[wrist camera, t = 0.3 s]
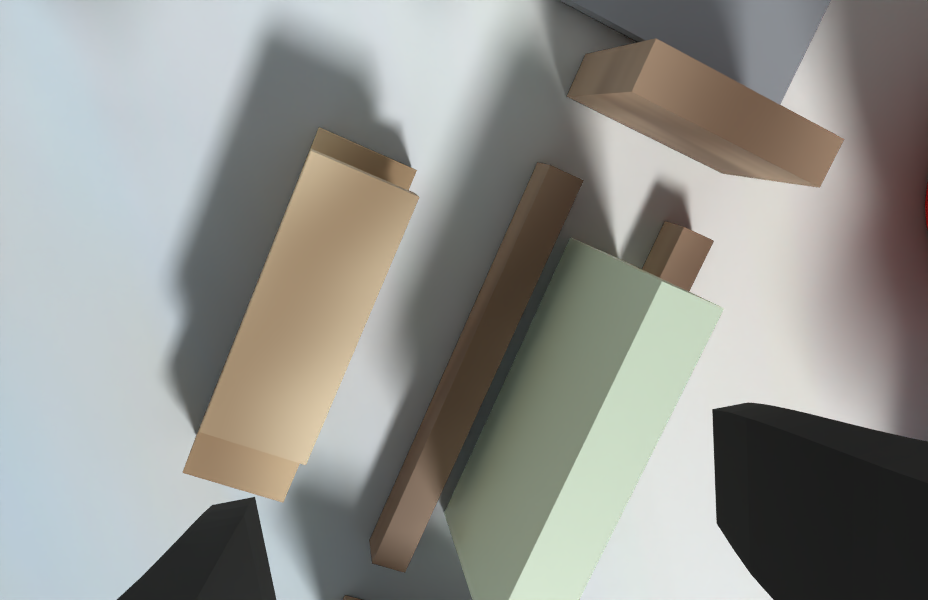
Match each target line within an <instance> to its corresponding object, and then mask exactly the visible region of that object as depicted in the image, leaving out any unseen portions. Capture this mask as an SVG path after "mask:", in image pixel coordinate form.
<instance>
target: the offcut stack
mask: <svg viewBox="0 0 928 600" xmlns="http://www.w3.org/2000/svg"><path fill="white" fill-rule="evenodd" d="M416 171H417V170H415V169H413V168H411V167H409V166H407V165H404V164H402V163H400V162H398V161H395V160H393V159H391V158H388V157H386V156H384V155H382V154H379V153H377V152H375V151H372V150H370V149H368V148H366V147H363V146H361V145H359V144H356V143H354V142H352V141H350V140H347V139H345V138H343V137H340V136H338V135H336V134H334V133H331V132H329V131H327V130H324V129H322V128H320V127H319V128H318V131H317V133H316V136H315V138H314V141H313V143H312V146H311V148H310V151H309V153H308V156H307V158H306V161H305V163H304V166H303V168H302V171H301V173H300V176H299V179H298V181H297V184H296V186H295V189H294V191H293V194H292V196H291V199H290V201H289V204H288V206H287V209H286V211H285V214H284V216H283V219H282V221H281V224H280V226H279V229H278V231H277V234H276V236H275V239H274V241H273V244H272V246H271V249H270V251H269V254H268V257H267V259H266V262H265V264H264V267H263V269H262V272H261V274H260V277H259V279H258V282H257V284H256V287H255V289H254V292H253V294H252V297H251V299H250V302H249V304H248V307H247V309H246V312H245V314H244V317H243V319H242V322H241V324H240V327H239V329H238V332H237V334H236V337H235V340H234V342H233V345H232V347H231V350H230V352H229V355H228V357H227V360H226V362H225V365H224V367H223V370H222V372H221V375H220V377H219V380H218V382H217V385H216V387H215V390H214V392H213V395H212V397H211V400H210V402H209V405H208V407H207V410H206V412H205V415H204V418H203V420H202V423H201V425H200V428H199V430H198V433H197V435H196V438H195V440H194V443H193V446H192V449H191V451H190V454H189V456H188V459H187V462H186V465H185V467H184V470H183V473H185V474H189V475H192V476H195V477H199V478H202V479H206V480H209V481H212V482H216V483H219V484H222V485H226V486H229V487H232V488H236V489H239V490H243V491H246V492H249V493H253V494H256V495H259V496H263V497H266V498H270V499H273V500H276V501H280V502H284V499H285V497H286V495H287V492H288V490H289V488H290V485H291V483H292V480H293V478H294V476H295V473H296V471H297V469H298V466H299V464H303V465H306V464H307V461H308V459H309V456H310V454H311V452H312V449H313V447H314V445H315V442H316V440H317V438H318V435H319V433H320V431H321V428H322V426H323V423H324V421H325V419H326V416H327V414H328V412H329V409H330V407H331V405H332V402H333V400H334V397H335V395H336V393H337V390H338V388H339V386H340V383H341V381H342V379H343V376H344V374H345V371H346V369H347V367H348V364H349V362H350V360H351V357H352V355H353V353H354V350H355V348H356V346H357V343H358V341H359V338H360V336H361V334H362V331H363V329H364V327H365V324H366V322H367V320H368V317H369V315H370V312H371V310H372V308H373V305H374V303H375V301H376V298H377V296H378V294H379V291H380V289H381V287H382V284H383V282H384V279H385V277H386V275H387V272H388V270H389V268H390V265H391V263H392V261H393V258H394V256H395V253H396V251H397V249H398V246H399V244H400V242H401V239H402V237H403V235H404V232H405V230H406V228H407V225H408V223H409V220H410V218H411V216H412V213H413V211H414V209H415V206H416V204H417V202H418V199H419V196H417V195H416V194H415V193H413V192H411V191H409V188H410V185H411V183H412V181H413V178H414V176H415V173H416Z"/></svg>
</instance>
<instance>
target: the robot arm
mask: <svg viewBox="0 0 928 600" xmlns="http://www.w3.org/2000/svg"><path fill="white" fill-rule="evenodd" d="M712 411H713V437H714V464H715V490H716V517H717V525H718V526H719V528H720V529H721V531H722V532H723V534H724V535H725V537H726V538H727V540H728V542H729V543H730V545H731V546H732V548H733V549H734V551H735V552H736V554H737V555H738V556H739V558H740V559H741V561H742V562H743V564H744V565H745V566H746V568H747V569H748V571H749V572H750V574H751V575H752V576H753V577H754V578H755V579H756V580H757V582H758V583H759V584H760V585H761V586H762V587H763V588H764V590H765V591H766V592H767V593H768V594H769V595H770V596H771V597H772V598H773V600H928V442H927V441H922V440H917V439H912V438H907V437H903V436H898V435H894V434H890V433H885V432H881V431H877V430H873V429H868V428H864V427H860V426H856V425H852V424H848V423H844V422H840V421H836V420H832V419H828V418H824V417H820V416H816V415H811V414H807V413H803V412H799V411H795V410H790V409H786V408H781V407H776V406H771V405H765V404H757V403H743V404H738V405H733V406H728V407H723V408H717V409H712ZM117 600H276V596H275V591H274V586H273V582H272V577H271V572H270V567H269V562H268V558H267V553H266V548H265V543H264V539H263V534H262V529H261V524H260V519H259V515H258V510H257V505H256V500H255V497H252V498H247V499H242V500H237V501H231V502H226V503H221V504H216V505H212V506H211V507H210V508H209V509H207V510H206V511H205V512H204V513H203V514H202V515H201V516H200V517H199V518H198V519H197V520H196V521H195V522H194V523H193V524H192V525H191V526H190V527H189V528H188V530H187V531H186V532H185V533H184V534H183V535H182V536H181V537H180V538H179V539H178V540H177V541H176V542H175V543H174V544H173V545H172V546H171V547H170V548H169V549H168V550H167V551H166V552H165V553H164V554H163V555H162V556H161V558H160V559H159V560H158V561H157V562H156V563H155V564H154V565H153V566H152V567H151V568H150V569H149V570H148V571H147V572H146V573H145V574H144V575H143V576H142V577H141V578H140V579H139V580H138V581H137V582H135V583H134V584H133V585H132V586H131V587H130V588H129V589H128V590H127V591H126V592H125V593H124V594H123V595H121V596H120V597H119V598H118V599H117Z"/></svg>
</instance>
